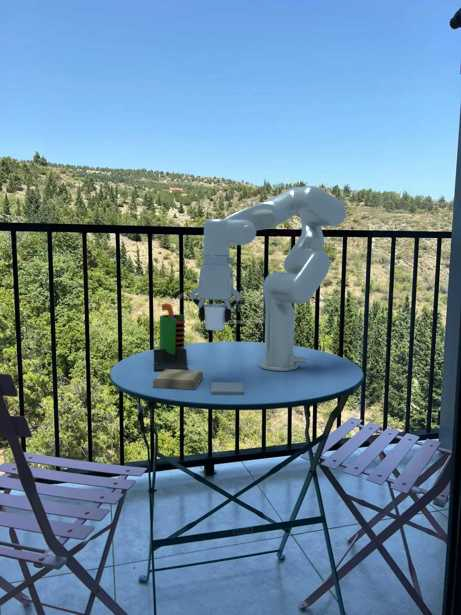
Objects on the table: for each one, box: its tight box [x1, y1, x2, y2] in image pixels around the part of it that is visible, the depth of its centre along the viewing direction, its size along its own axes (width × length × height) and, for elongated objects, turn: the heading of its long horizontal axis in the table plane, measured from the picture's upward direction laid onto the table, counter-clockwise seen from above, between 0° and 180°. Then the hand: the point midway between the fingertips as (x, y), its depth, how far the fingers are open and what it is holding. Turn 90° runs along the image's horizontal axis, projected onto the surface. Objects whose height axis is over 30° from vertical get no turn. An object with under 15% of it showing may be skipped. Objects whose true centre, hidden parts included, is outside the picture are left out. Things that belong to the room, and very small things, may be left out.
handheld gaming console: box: [153, 348, 189, 373], centre depth 169 cm, size 12×7×10 cm
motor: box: [158, 302, 186, 355], centre depth 176 cm, size 10×9×20 cm
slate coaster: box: [210, 381, 245, 395], centre depth 145 cm, size 9×9×1 cm
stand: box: [152, 369, 204, 391], centre depth 151 cm, size 12×12×2 cm
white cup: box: [204, 303, 227, 331], centre depth 154 cm, size 7×7×7 cm
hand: (214, 320), depth 154 cm, fingers closed on white cup, 6 cm apart
